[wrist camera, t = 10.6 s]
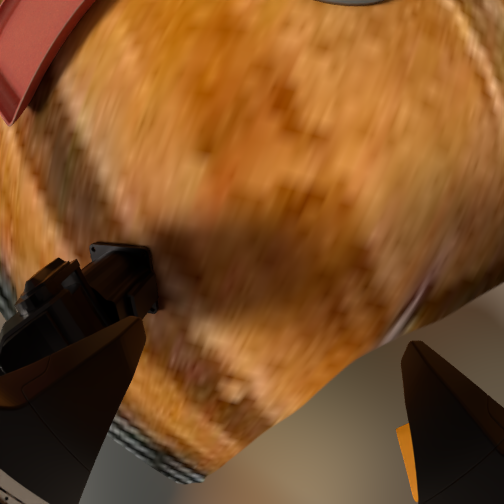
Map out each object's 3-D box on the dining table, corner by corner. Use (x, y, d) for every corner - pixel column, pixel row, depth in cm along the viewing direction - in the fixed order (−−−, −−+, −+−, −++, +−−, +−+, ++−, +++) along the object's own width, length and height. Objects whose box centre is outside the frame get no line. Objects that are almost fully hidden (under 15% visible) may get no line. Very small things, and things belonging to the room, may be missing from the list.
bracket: (451, 425, 29) (468, 484, 18) (411, 445, 32) (422, 504, 21) (442, 400, 27) (465, 472, 16) (394, 424, 29) (408, 498, 18)
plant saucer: (31, 127, 20) (8, 130, 17) (-14, 64, 16) (-31, 64, 13) (136, -24, 13) (118, -38, 10) (62, -50, 10) (46, -57, 7)
